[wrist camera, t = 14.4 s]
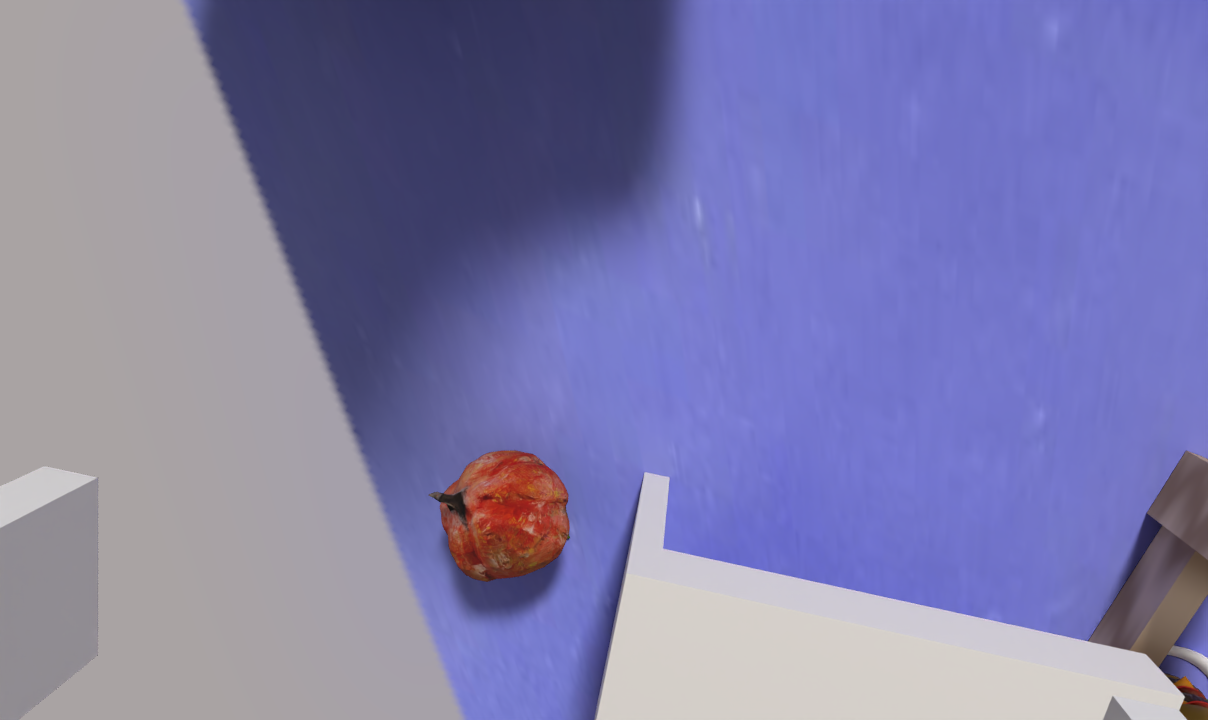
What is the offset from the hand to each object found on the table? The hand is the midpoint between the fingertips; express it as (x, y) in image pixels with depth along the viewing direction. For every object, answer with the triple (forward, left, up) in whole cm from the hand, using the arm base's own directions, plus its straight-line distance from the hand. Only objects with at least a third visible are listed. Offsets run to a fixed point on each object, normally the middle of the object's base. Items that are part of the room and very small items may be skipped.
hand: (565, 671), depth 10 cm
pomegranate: (+14, -6, -35) cm, 38 cm away
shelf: (+19, +13, -35) cm, 42 cm away
